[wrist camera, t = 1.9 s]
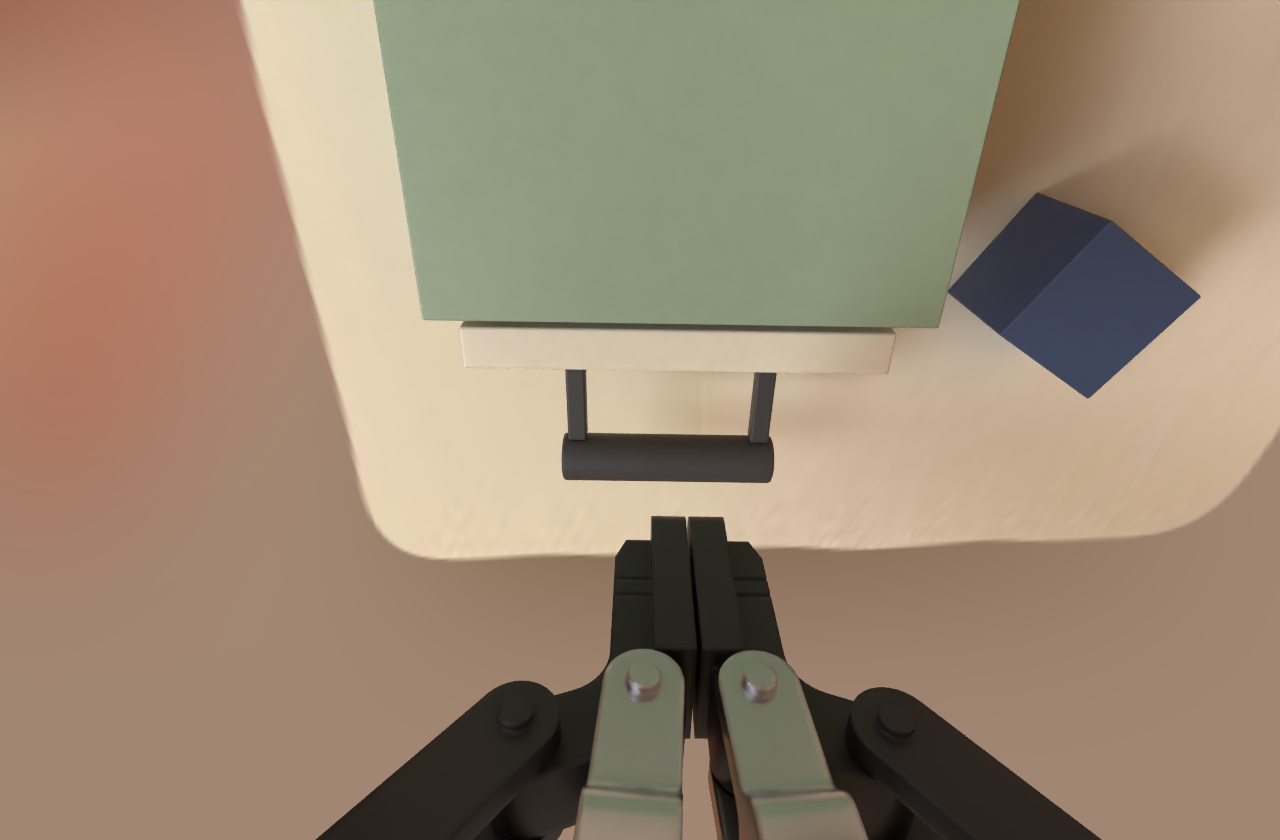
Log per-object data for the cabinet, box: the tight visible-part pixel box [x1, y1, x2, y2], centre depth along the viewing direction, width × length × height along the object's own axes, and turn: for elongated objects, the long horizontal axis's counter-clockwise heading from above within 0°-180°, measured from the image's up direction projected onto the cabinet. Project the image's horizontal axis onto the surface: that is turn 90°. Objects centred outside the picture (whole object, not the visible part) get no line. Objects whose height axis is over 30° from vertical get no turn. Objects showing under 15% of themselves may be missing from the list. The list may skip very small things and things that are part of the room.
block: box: [948, 193, 1200, 398], centre depth 23 cm, size 4×4×4 cm
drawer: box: [459, 321, 896, 483], centre depth 19 cm, size 19×11×8 cm, turn 179°
